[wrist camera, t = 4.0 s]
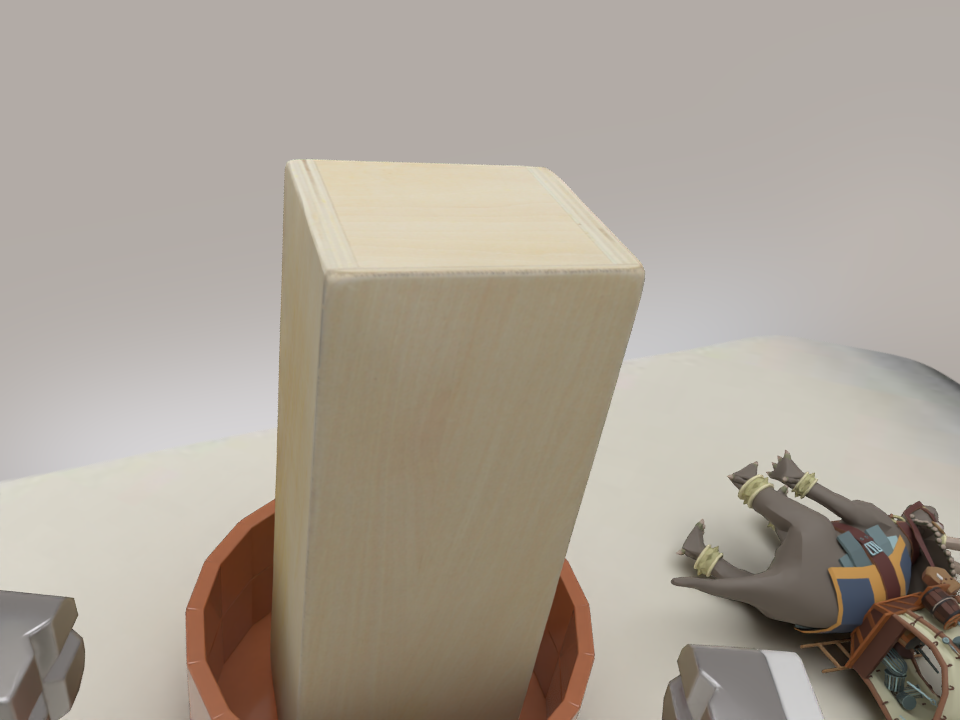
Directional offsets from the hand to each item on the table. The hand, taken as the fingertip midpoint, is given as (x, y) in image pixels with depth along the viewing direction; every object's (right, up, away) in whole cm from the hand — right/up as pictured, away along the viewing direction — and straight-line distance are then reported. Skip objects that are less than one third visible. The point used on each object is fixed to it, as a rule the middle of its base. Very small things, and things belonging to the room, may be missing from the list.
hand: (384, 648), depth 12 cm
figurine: (+19, -9, +28) cm, 36 cm away
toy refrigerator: (-2, -10, +22) cm, 24 cm away
